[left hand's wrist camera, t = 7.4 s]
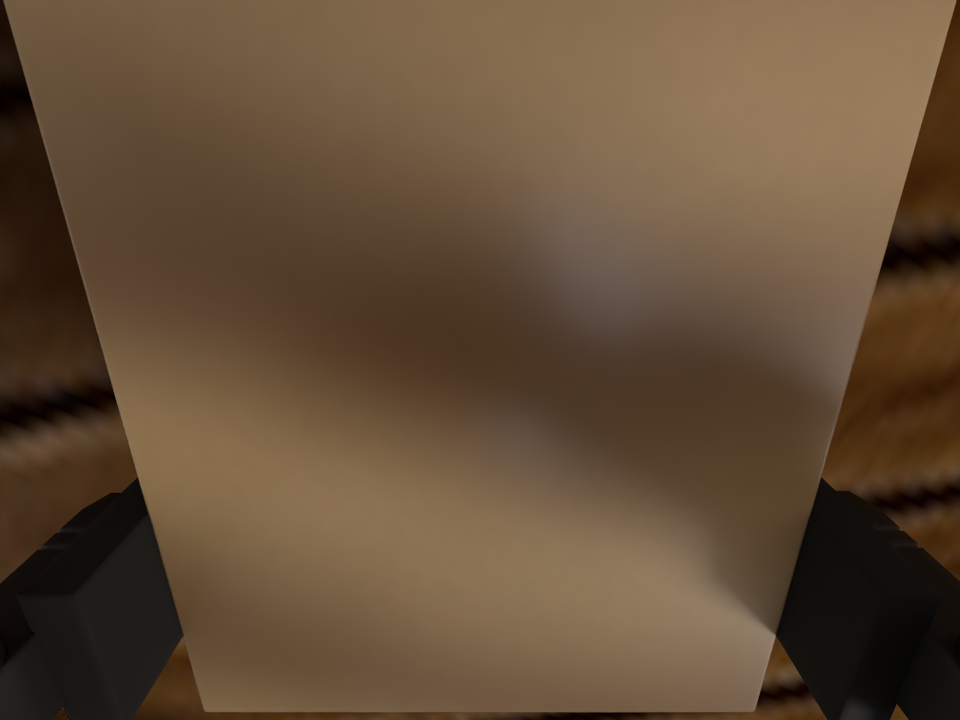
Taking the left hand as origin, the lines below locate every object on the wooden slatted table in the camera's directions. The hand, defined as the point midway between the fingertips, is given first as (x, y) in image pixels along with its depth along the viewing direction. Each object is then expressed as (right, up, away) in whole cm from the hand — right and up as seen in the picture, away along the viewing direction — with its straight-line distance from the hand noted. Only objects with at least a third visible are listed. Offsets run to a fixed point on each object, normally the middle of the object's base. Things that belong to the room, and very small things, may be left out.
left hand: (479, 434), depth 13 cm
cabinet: (0, +5, +1) cm, 6 cm away
